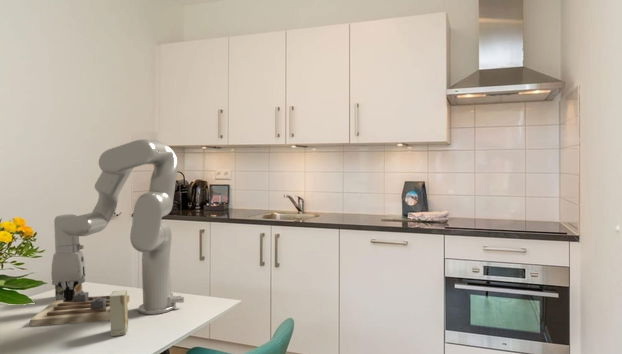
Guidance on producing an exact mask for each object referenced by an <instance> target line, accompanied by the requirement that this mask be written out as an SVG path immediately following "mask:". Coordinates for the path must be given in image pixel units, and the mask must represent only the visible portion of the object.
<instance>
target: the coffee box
mask: <svg viewBox="0 0 622 354" xmlns="http://www.w3.org/2000/svg"><path fill="white" fill-rule="evenodd" d="M68 286H69V287H70V281H68ZM54 289H55V290H54V292H55V293H54V295H55V301H58V300H63V299H65V298H64V290H62V288H61V287H60V286H59V285H54ZM81 291H83V283H81V284H78V285H77V286H76V287H75V288H74V294H76V293H79V292H81Z"/></svg>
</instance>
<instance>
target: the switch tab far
mask: <svg viewBox="0 0 622 354" xmlns="http://www.w3.org/2000/svg"><path fill="white" fill-rule="evenodd" d="M89 297H90V296H89V292H88V291H84V290H82V291H81V292H79V293H76V294H75V295H73V302H86V301H88V300H89Z"/></svg>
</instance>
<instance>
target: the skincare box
mask: <svg viewBox="0 0 622 354" xmlns="http://www.w3.org/2000/svg"><path fill="white" fill-rule="evenodd" d="M109 296H110V320H109V321H110V337H116V336H125V335H126V334H127V332H128V329H129V312H128V303H127V296H128V290H127V289H126V290H125V289H123V290H115V291H114V290H113V291H111V293H110V295H109Z"/></svg>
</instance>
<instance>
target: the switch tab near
mask: <svg viewBox="0 0 622 354" xmlns="http://www.w3.org/2000/svg"><path fill="white" fill-rule="evenodd" d="M90 305H91V309H96V308H105V307H106V298H101V297H98V298H97V299H93V300H92V301H91V302H90Z"/></svg>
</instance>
